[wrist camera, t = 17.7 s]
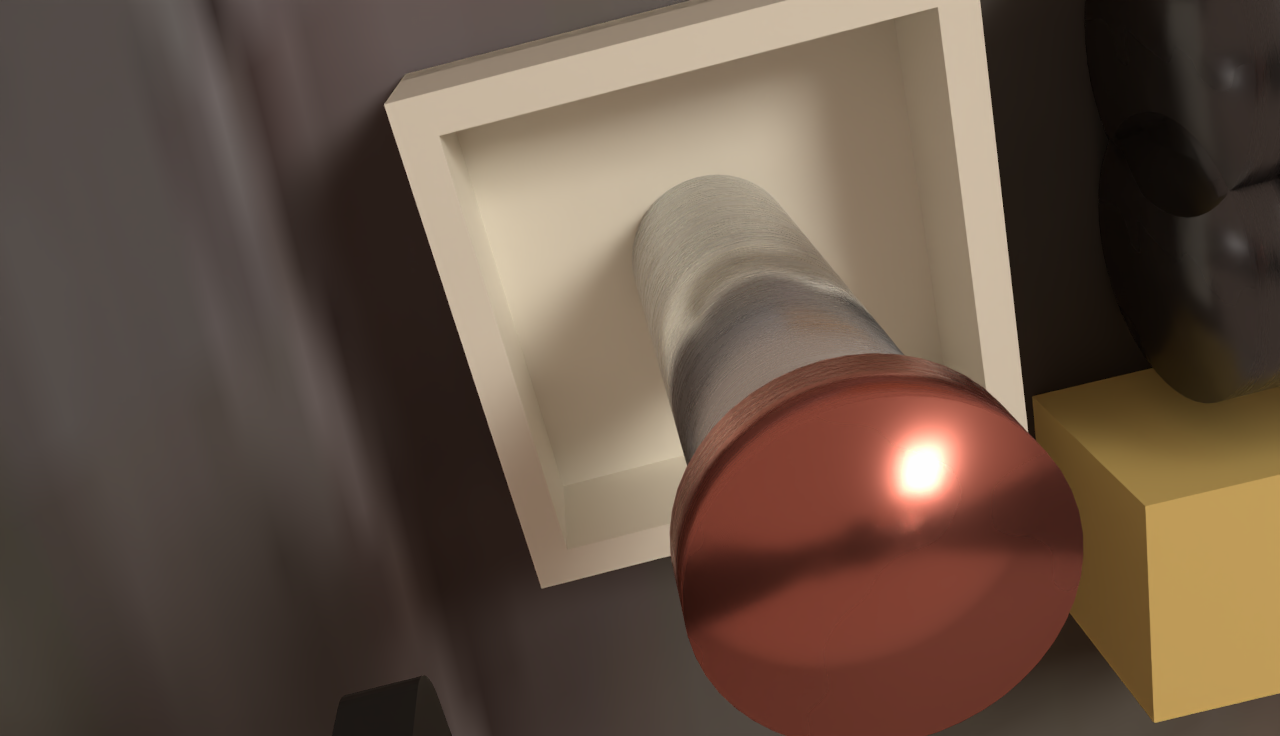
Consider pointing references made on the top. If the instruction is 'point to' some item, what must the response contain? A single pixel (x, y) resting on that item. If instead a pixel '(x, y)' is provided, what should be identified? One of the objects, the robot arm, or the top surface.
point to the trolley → (1192, 185)
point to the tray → (656, 162)
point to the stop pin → (839, 488)
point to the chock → (1174, 536)
